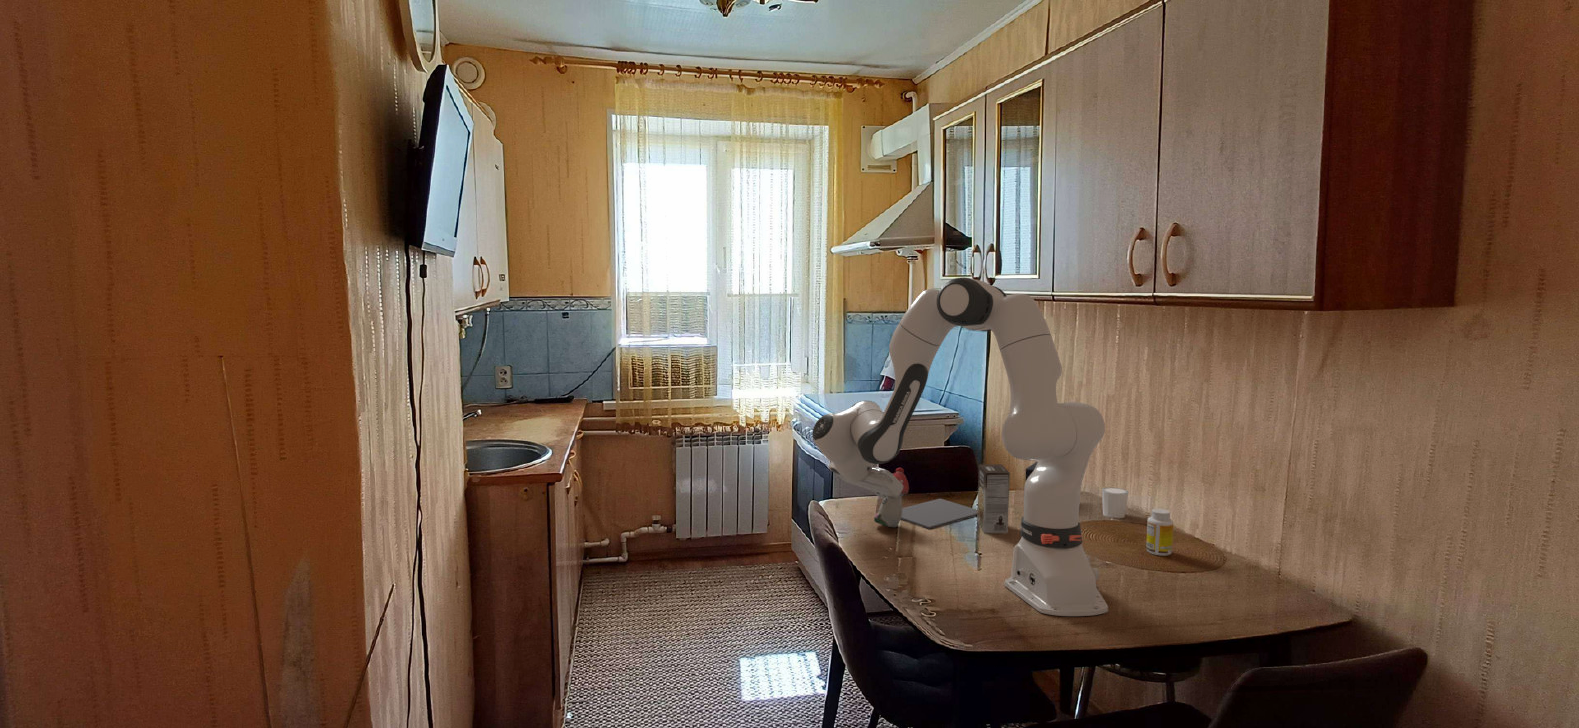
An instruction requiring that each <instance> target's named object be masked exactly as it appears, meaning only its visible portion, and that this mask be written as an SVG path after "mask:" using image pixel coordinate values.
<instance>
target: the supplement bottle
mask: <svg viewBox="0 0 1579 728" xmlns="http://www.w3.org/2000/svg"><path fill="white" fill-rule="evenodd" d="M1146 523H1147V527H1146V547H1145V548H1146V551H1147V552H1148V553H1149V554H1152V555H1153V556H1162V557H1163V556H1164V557H1165V556H1166V557H1167V556H1169V555H1171V554H1172V553H1173V540H1174V538H1173V537H1174V520H1173V519H1171V512H1170V511H1169V510H1167V509H1164V508H1153V509H1151V516H1149V517H1148V518H1147V522H1146Z"/></svg>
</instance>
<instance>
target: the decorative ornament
mask: <svg viewBox="0 0 1579 728" xmlns="http://www.w3.org/2000/svg"><path fill="white" fill-rule="evenodd" d="M904 471H905V470H904V469H903V467H898V468H896V469H895V472H893V473H892V474H893V475H894V476H895V477H896V478H897V479H898V480H899V481H900V482H901V483H902V485H903V490H902V492H901V493H900V495H899V496H898V497H897V498H894V497H891V496H887V498H886V499H885V498H882V502H881V503H880V505H879V509H878V511H877V512H876V513H875V514H874V518H873V519H874V520H873V522H874V523H876V524H879V525H881V526H885V527H889V528H890V527H891V528H896V527H898V526H899V524H900V522H901V521H902V520H901V516H902V508H903V496H905V495H907V494H908V493H909V490H910V487H909V481H908V479H907V477H906V475H905V474H904Z"/></svg>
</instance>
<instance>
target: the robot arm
mask: <svg viewBox="0 0 1579 728" xmlns="http://www.w3.org/2000/svg"><path fill="white" fill-rule="evenodd" d="M1043 314H1044V313H1042V311H1041V309H1040V307H1039V305H1038V303H1037V302H1036V301H1035V299H1034V298H1033V297H1032V296H1030V295H1029V294H1027V293H1014V294H1013V293H1012V294H1010V295H1007V294H1006V293H1005V292H1004V291H1003V290H1002V289H1001V288H999V287H997V286H994V285H991V284H989V283H987V282H985V281H983V280H979V279H973V278H970V277H955V278H953V279H951V280H948V281H946V282H945V283H944V284H943V285H942V286H941V287H940V289H937V288H936V289H935V288H928V289H925V290H923V291H922V292H921V293H920V294H919V295H918V296H917V297H916V298H915V300H914V301H913V302H912V303H911V305H910V306H909V307H908V309H907V310H906V311H905V313H904V314H903V316H902V318H901V320H900V321H899V323H898V324H897V326H896V328H894V329H895V330H894V332H893V333H892V336H891V339H890V342H889V345H888V346H889V347H888V349H889V355H890V359H891V363H892V366H893V371H894V389H893V392H892V394H891V396H890V399H889V400H888V402H887V405H886V407H885V409H884V411H883V410H882V408H881V407H880V405H878V403H876V402H875V401H872V400H861V401H857V402H856V403H854V404H852V406H851V407H849V408H847V409H845V410H843V411H840V412H837V413H826V414H824V415H822V416H821V417H820V418H819V419H818V420H817V421H816V422H815V424H814V426H813V429H812V439H813V441H814V444H815V445H816V447H817V448H818V449H819V451H820V452H821V453H822V455H823V456H824V457H826V459H827V460H828V461H830V463H828V466H827V468H828V469H829V471H831V472H832V473H834V474H836V475H837V477H839V479H841V480H842V481H843V482H846V483H847V484H850V485H852V486H856V487H860V488H862V489H866V490H869V491H870V492H872V493H874V494H875V495H876V496H877V497H879V498H882V499H884V498H885V499H886V498H887V496H891V497H894V498H897V497H898V496H899V495H900V493H901V492H902V490H903V485H902V483H901V482H900V481H899V480H898V479H897V478H896V477H895V476H894V475H893V474H894V473H891V472H890V471H889V470H887V469H885V468H881V467H878V466H875V465H882V464H883V465H884V464H886V463H888V462H890V461H892V460H894V459H895V458H896V457H897V456H898V454H899V453H900V451H901V449H902V446H903V442H904V435H905V432H906V429H907V427H908V425H909V423H910V420H911V419H912V416H913V414H914V412H915V410H916V408H917V405H918V403H919V402H920V399H921V397H922V395H923V392H924V390H925V388H926V386H927V382H928V378H929V373H930V369H931V367H932V364H933V362H934V359H935V357H936V355H937V353H938V351H939V349H940V347H941V345H942V344H943V342H944V341H945V339H946V337H947V336H948V334H949V333H950V332H951V331H952V330H953V329H955V328H956V327H961V328H964V329H967V330H969V331H977V332H978V331H979V332H992V333H993V335H994V337H995V340H996V342H997V347H998V349H999V353H1000V355H1001V359H1002V361H1003V365H1004V369H1005V372H1006V375H1007V379H1008V383H1009V391H1010V404H1009V411H1008V414H1007V417H1006V419H1005V420H1004V422H1003V424H1002V428H1001V439H1002V443H1003V446H1004V447H1005V449H1006V451H1007V452H1008V453H1009V455H1010V456H1012V457H1013V458H1016V459H1018V460H1021V461H1022V460H1023V461H1030V462H1031V461H1032V462H1038V463H1037V465H1036V467H1035V469H1034V471H1033V472H1032V474H1031V475H1030V476H1029V477H1028V478H1027V480H1026V483H1024V488H1023V490H1024V492H1023V494H1024V495H1023V516H1022V517H1021V520H1020V524H1019V525H1020V536H1021V538H1020V539H1019V541H1018V543H1016V544H1015V546H1014V547H1013V550H1012V551H1013V553H1012V560H1011V561H1012V563H1011V571H1010V577H1008V578H1005V579H1004V583H1003V585H1004V587H1006V588H1008V590H1010V591H1011V592H1012V593H1014V594H1015V595H1017V596H1018V597H1019V598H1020V599H1022V600H1023V601H1024V602H1025V603H1027V604H1029V605H1030V606H1031V608H1034V609H1035V610H1036V611H1038V612H1039V613H1042V614H1046V615H1051V616H1059V617H1060V616H1061V617H1085V616H1086V617H1087V616H1088V617H1089V616H1097V615H1101V614H1106V613H1108V612H1109V606H1108V604H1107V603H1106V601H1105V599H1104V598H1103V596H1102V594H1101V593H1100V591H1099V589H1098V588H1097V583H1096V582H1097V580H1099V579H1100V570H1099V568H1097V567H1096V568H1095V567H1092V566H1091V557H1090V556H1089V555H1087V554H1086V551H1085V549H1084V547H1083V545H1082V544H1083V536H1082V535H1083V533H1082V529H1081V528H1082V527H1081V522H1080V521H1079V518H1080V517H1079V516H1080V501H1081V500H1080V499H1081V490H1082V484H1083V480H1084V476H1085V473H1086V470H1087V467H1088V465H1089V464H1088V463H1090V462H1089V461H1090V458H1091V457H1092V454H1093V452H1094V450H1095V449H1096V447H1097V446H1098V445H1099V443H1100V442H1101V441H1102V439H1103V438H1104V435H1105V431H1106V426H1105V425H1106V424H1105V421H1104V417H1103V416H1102V414H1101V412H1100V411H1099V410H1098V409H1097V408H1096V407H1095V406H1093V405H1091V404H1087V403H1084V402H1083V403H1082V402H1076V401H1066V402H1065V401H1064V402H1059V403H1058V398H1057V383H1058V380H1059V379H1060V378H1061V376H1062V374H1063V367H1062V363H1061V361H1060V357H1059V354H1058V352H1057V348H1056V345H1055V343H1054V340H1053V336H1052V333H1051V331H1050V329H1049V326H1048V323H1047V321H1046V319H1045V317H1044V315H1043Z"/></svg>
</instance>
